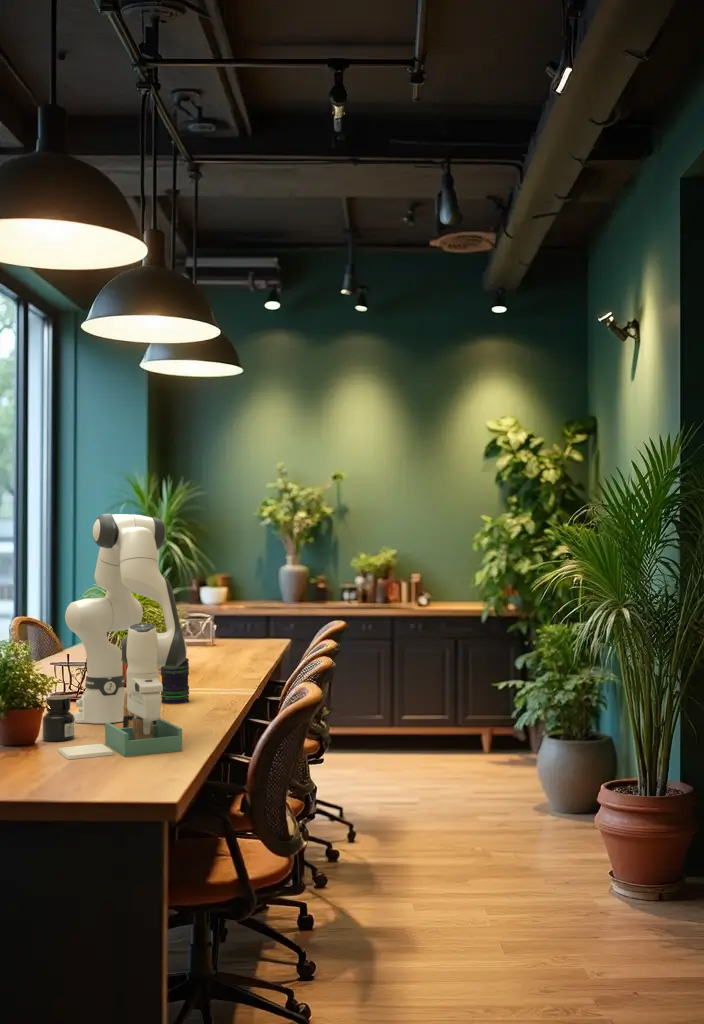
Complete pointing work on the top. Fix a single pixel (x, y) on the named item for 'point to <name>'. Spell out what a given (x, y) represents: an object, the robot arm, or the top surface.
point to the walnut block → (140, 729)
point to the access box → (163, 739)
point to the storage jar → (175, 684)
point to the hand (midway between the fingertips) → (143, 732)
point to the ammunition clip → (129, 717)
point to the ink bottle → (58, 720)
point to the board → (85, 751)
